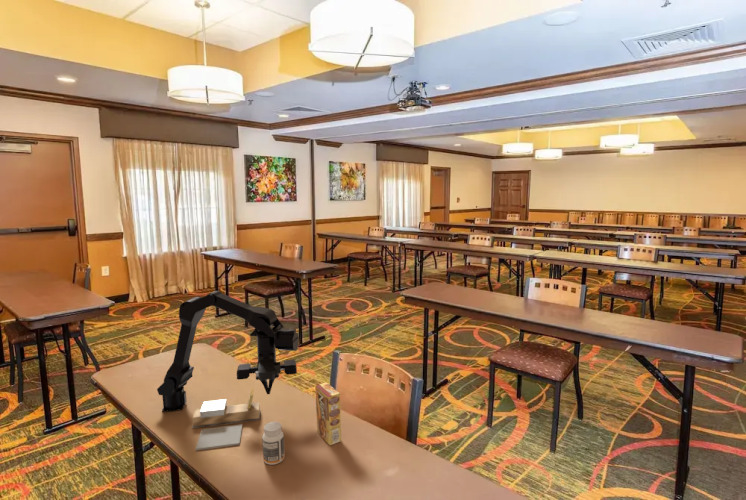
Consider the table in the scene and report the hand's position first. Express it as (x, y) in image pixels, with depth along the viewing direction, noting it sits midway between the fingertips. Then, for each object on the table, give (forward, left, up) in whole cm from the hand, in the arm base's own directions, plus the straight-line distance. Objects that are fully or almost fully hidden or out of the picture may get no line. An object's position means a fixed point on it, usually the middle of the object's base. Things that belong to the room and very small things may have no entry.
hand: (268, 393), depth 136 cm
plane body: (-13, 0, -7) cm, 15 cm away
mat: (-14, -10, -7) cm, 19 cm away
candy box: (+18, -17, -8) cm, 26 cm away
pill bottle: (+2, -24, -8) cm, 25 cm away
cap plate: (-17, 0, -4) cm, 18 cm away
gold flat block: (-6, 0, -3) cm, 7 cm away
